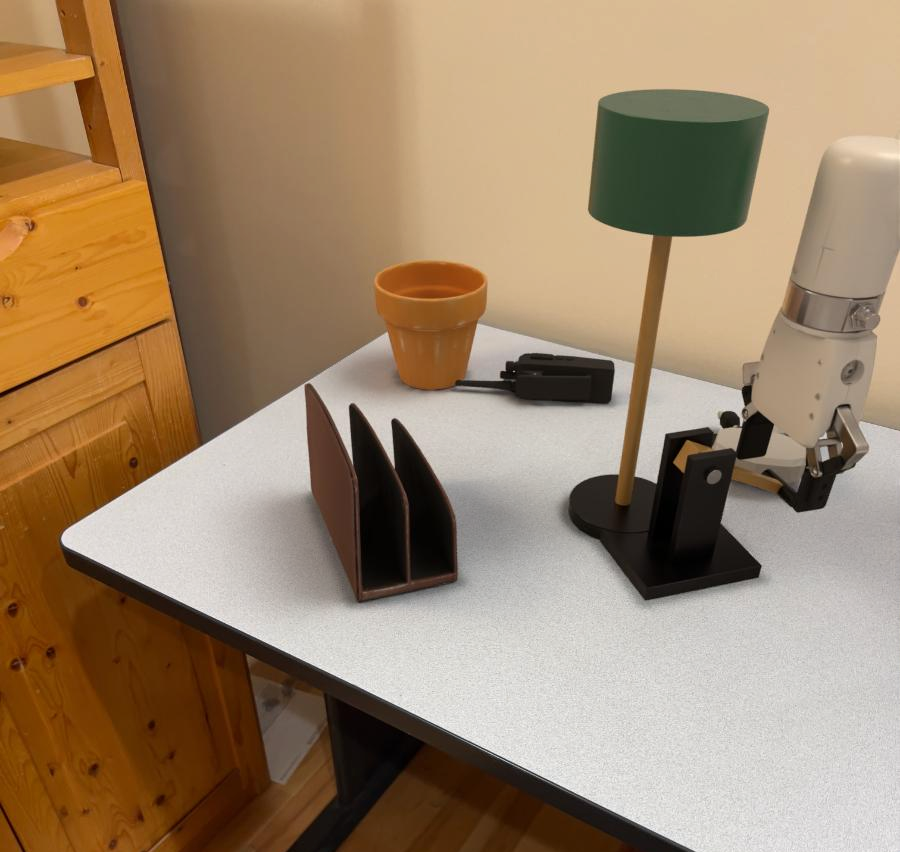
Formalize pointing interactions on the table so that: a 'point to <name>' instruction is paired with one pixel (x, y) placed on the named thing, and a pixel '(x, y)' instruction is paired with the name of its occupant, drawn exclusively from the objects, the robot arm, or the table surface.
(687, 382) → the table surface
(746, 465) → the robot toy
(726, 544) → the black pivot bracket
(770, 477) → the switch lever
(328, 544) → the table surface
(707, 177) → the desk lamp
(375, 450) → the letter holder
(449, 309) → the flower pot
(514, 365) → the walkie-talkie
